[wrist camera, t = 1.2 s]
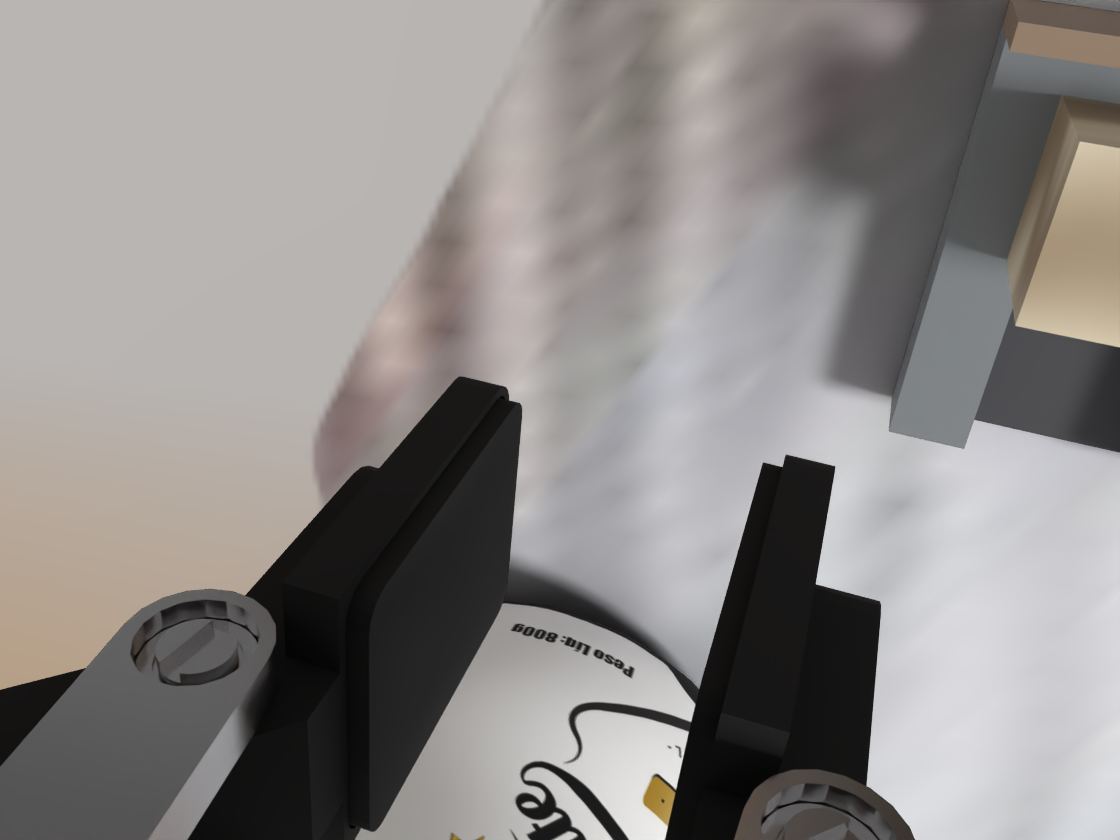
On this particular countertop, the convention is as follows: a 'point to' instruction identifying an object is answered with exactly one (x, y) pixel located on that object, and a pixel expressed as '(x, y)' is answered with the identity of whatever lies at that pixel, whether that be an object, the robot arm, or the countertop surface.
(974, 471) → the countertop surface
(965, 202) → the trap board
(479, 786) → the milk container
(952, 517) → the countertop surface
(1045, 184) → the maple cube
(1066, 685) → the countertop surface
